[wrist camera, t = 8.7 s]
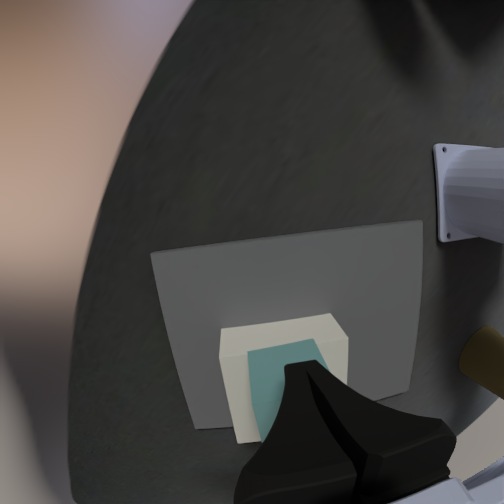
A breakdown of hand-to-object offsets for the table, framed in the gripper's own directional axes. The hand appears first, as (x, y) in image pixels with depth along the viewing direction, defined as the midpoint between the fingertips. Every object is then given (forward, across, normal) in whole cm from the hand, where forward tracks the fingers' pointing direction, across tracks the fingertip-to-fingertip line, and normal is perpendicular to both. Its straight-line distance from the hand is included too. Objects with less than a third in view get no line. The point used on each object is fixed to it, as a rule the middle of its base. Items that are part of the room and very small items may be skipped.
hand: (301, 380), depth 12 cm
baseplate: (+10, -2, +4) cm, 11 cm away
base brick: (+10, 0, +6) cm, 11 cm away
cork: (+11, -22, +10) cm, 27 cm away
